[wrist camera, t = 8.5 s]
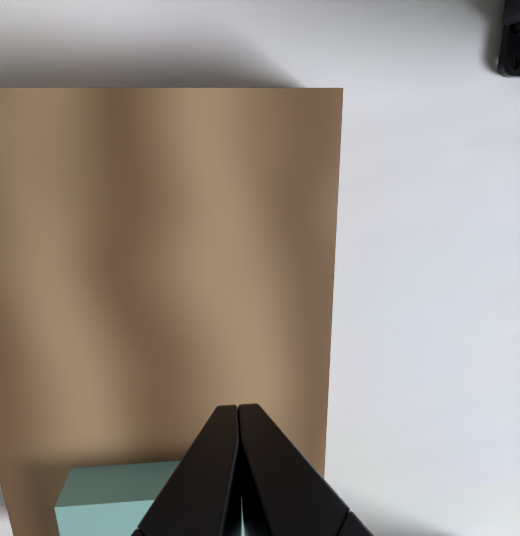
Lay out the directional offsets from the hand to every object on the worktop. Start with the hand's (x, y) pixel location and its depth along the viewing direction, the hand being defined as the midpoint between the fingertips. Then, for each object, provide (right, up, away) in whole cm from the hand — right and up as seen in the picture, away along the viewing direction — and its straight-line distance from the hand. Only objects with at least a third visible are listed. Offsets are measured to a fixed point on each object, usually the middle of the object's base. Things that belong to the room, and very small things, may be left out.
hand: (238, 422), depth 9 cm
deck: (-4, 0, +12) cm, 13 cm away
